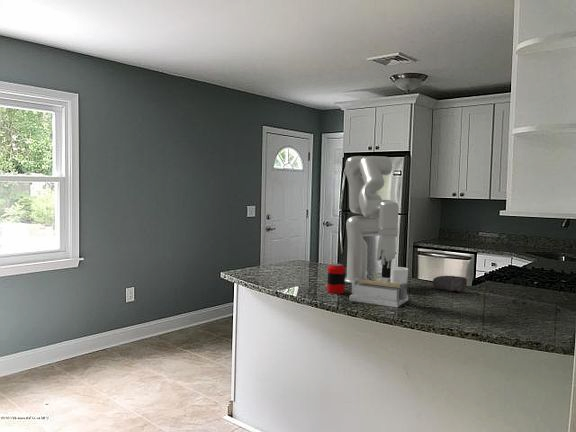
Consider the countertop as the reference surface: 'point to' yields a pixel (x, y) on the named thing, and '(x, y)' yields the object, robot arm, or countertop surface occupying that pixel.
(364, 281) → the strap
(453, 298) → the countertop surface
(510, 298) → the countertop surface
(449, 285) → the perforated stone tool
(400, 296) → the heatsink
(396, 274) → the white cup
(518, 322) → the countertop surface
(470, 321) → the countertop surface
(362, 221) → the robot arm
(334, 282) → the soda can
